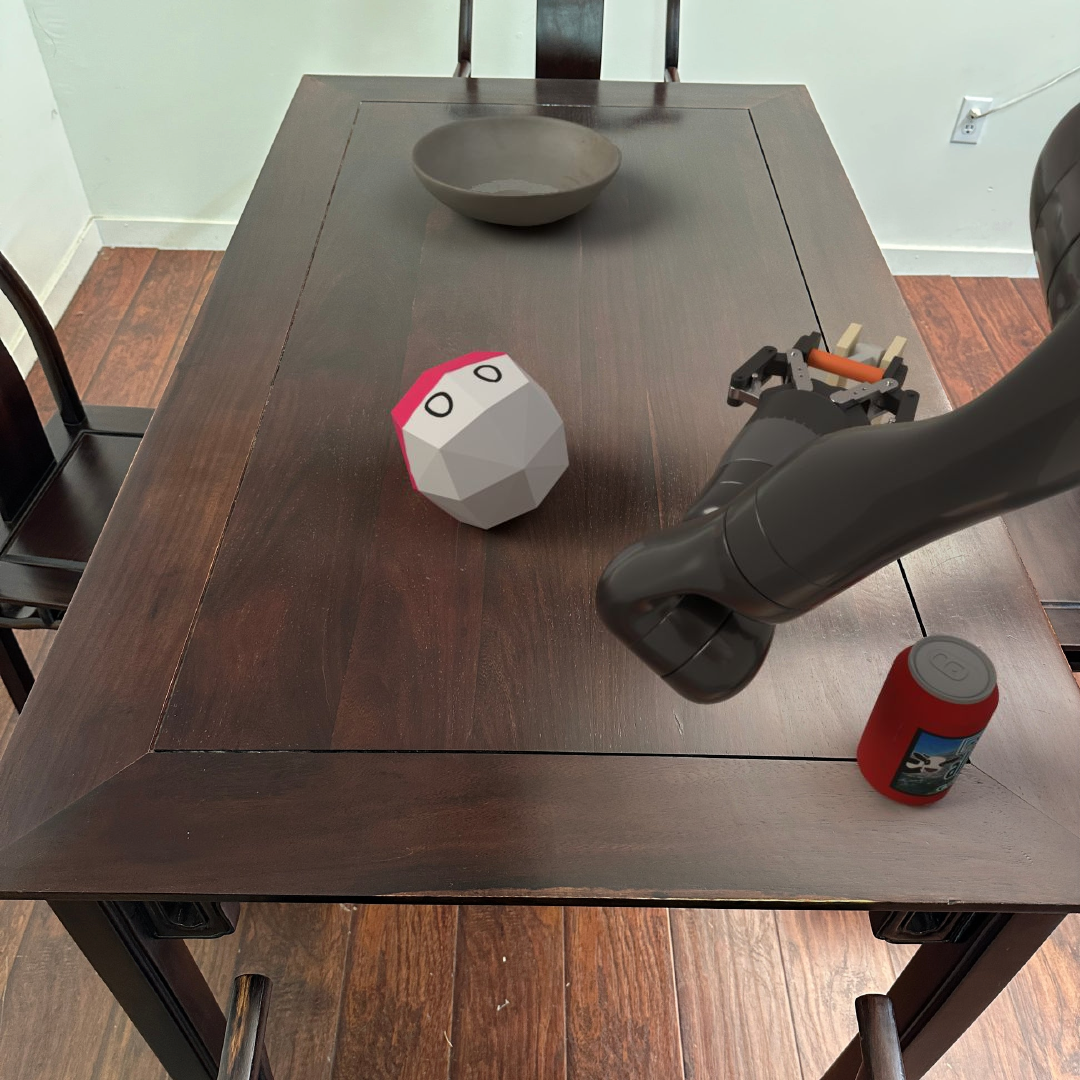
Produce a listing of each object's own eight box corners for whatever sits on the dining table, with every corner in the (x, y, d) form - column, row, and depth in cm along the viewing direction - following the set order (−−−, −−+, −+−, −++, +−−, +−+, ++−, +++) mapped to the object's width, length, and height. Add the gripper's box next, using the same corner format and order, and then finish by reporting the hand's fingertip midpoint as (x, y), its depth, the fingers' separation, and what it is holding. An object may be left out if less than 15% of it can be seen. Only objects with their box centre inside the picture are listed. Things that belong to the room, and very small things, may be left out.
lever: (876, 395, 75) (887, 365, 74) (802, 371, 77) (812, 342, 76) (898, 381, 85) (908, 355, 84) (832, 361, 87) (841, 335, 87)
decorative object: (471, 301, 88) (560, 344, 77) (532, 425, 97) (619, 479, 86) (338, 396, 85) (411, 455, 74) (415, 515, 94) (489, 583, 83)
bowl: (623, 258, 124) (629, 196, 118) (406, 255, 124) (400, 193, 118) (612, 170, 144) (616, 113, 138) (424, 167, 144) (420, 109, 138)
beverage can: (912, 830, 66) (969, 728, 58) (833, 764, 70) (876, 659, 62) (968, 776, 69) (1030, 672, 61) (889, 716, 73) (938, 610, 65)
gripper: (898, 459, 62) (960, 339, 72) (693, 390, 67) (779, 287, 78) (869, 543, 67) (931, 419, 78) (680, 473, 72) (762, 366, 83)
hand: (854, 354), depth 78 cm, fingers closed on lever, 6 cm apart
